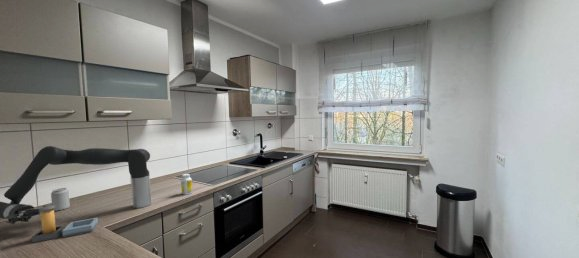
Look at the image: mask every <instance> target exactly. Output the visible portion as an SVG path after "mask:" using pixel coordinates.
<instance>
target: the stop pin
mask: <svg viewBox="0 0 579 258" xmlns="http://www.w3.org/2000/svg"><path fill="white" fill-rule="evenodd" d="M45 206H46V207H43V206H42V208H41V207H38V208H39V212H41V215H40V221H41V229H42V233H43V234H47V233H52V232H56V227H57V225H56V216H55V211H54V209H55V205H52V204H51V205H45Z"/></svg>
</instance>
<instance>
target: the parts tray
mask: <svg viewBox="0 0 579 258" xmlns="http://www.w3.org/2000/svg"><path fill="white" fill-rule="evenodd" d="M97 225H99V221H98V217H93V218H87V219H82V220H81V219H80V220H77V221H70V223H68V225H67V226H65V229H64V230H63V231H62V232H63V233H62V238H66V237H67V238H68V237H73V236H77V235H83V234H87V233H92V232H94V230H95V228H96V227H97Z"/></svg>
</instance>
